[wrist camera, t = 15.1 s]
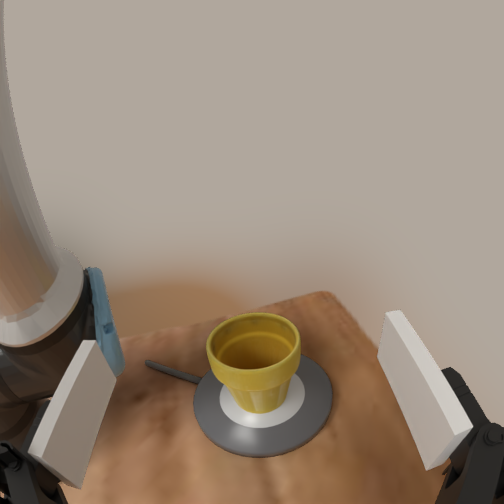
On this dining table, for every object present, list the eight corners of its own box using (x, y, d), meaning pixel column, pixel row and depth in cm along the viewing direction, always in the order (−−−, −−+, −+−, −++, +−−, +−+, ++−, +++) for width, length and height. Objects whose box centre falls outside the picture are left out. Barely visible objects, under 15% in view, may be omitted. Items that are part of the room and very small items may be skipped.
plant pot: (298, 363, 40) (295, 306, 36) (306, 421, 31) (305, 366, 27) (225, 368, 41) (211, 314, 37) (218, 427, 31) (198, 374, 27)
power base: (112, 399, 38) (108, 393, 37) (177, 331, 52) (175, 325, 52) (308, 473, 25) (308, 468, 25) (344, 363, 40) (344, 356, 40)
